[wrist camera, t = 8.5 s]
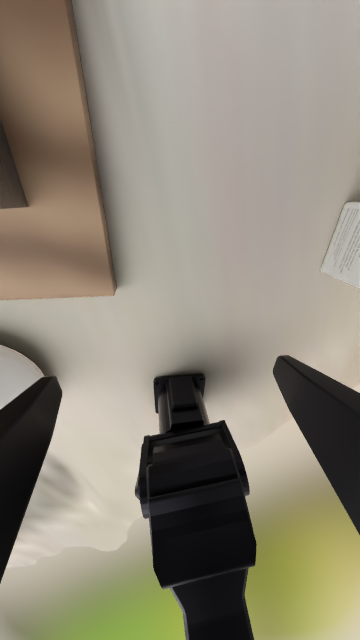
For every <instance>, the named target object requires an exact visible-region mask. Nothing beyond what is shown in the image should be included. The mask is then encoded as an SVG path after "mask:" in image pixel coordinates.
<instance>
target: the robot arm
mask: <svg viewBox="0 0 360 640" xmlns="http://www.w3.org/2000/svg"><path fill="white" fill-rule="evenodd" d="M273 375H274V377H275V379H276V382H277V384H278V386H279V388H280V391H281V393H282V395H283V398H284V400H285V402H286V404H287V406H288V408H289V410H290V412H291V414H292V416H293V417H294V419H295V421H296V423H297V424H298V426H299V428H300V430H301V432H302V433H303V435H304V437H305V439H306V440H307V442H308V444H309V446H310V448H311V449H312V451H313V453H314V455H315V456H316V458H317V460H318V462H319V463H320V465H321V467H322V469H323V471H324V472H325V474H326V476H327V478H328V480H329V481H330V483H331V485H332V487H333V488H334V490H335V492H336V494H337V496H338V497H339V499H340V501H341V503H342V504H343V506H344V508H345V510H346V511H347V513H348V515H349V517H350V518H351V520H352V522H353V524H354V526H355V527H356V529H357V531H358V533H359V535H360V393H358V392H356V391H354V390H353V389H351V388H349V387H347V386H345V385H343V384H341V383H340V382H338V381H336V380H334V379H332V378H330V377H328V376H326V375H325V374H323V373H321V372H319V371H317V370H315V369H313V368H311V367H309V366H308V365H306V364H304V363H302V362H300V361H298V360H296V359H294V358H293V357H291V356H288V355H283V356H278V357H277V359H276V362H275V365H274V368H273ZM153 382H154V396H155V410H156V413H158V414H159V431H160V434H158V435H153V436H150V435H148V436H144V442H143V444H142V447H141V459H140V468H139V474H138V478H137V482H136V487H135V495H136V497H137V498H138V499H139V500H140V504H141V509H142V514H143V517H144V518H145V519H146V518H149V522H150V534H151V545H152V554H153V568H154V571H155V573H156V576H157V578H158V581H159V583H160V585H161V587H162V589H166V588H170V589H171V591H172V593H173V595H174V597H175V598H176V600H177V602H178V604H179V606H180V607H181V609H182V612H183V619H184V626H185V636H186V640H254V637H253V633H252V628H251V624H250V619H249V615H248V610H247V606H246V601H245V595H244V594H245V587H246V581H247V574H248V568H249V567H253V566H255V561H256V540H255V537H254V533H253V527H252V523H251V519H250V515H249V511H248V507H247V503H246V499H245V496H247V495H249V492H250V491H249V483H248V479H247V474H246V471H245V467H244V464H243V461H242V458H241V456H240V453H239V451H238V449H237V446H236V444H235V442H234V440H233V438H232V436H231V433H230V431H229V429H228V427H227V425H226V423H225V420H222V421H219V422H217V423H212V424H210V423H209V419H208V416H207V412H206V409H205V405H204V401H203V394H204V385H205V376H204V374H194V375H183V376H173V377H162V378H155V379H154V381H153ZM61 398H62V389H61V387H60V385H59V382H58V380H57V378H56V377H55V376H44V377H41V378H40V379H39V380H37V381H36V382H35V383H34V384H32V385H31V386H30V387H28V388H27V389H26V390H25V391H23V392H22V393H21V394H20V395H18V396H17V397H16V398H14V399H13V400H12V401H11V402H9V403H8V404H7V405H5V406H4V407H3V408H2V409H0V583H1V580H2V577H3V574H4V571H5V568H6V566H7V563H8V560H9V557H10V554H11V552H12V549H13V546H14V543H15V540H16V537H17V535H18V532H19V529H20V526H21V523H22V521H23V518H24V515H25V512H26V509H27V507H28V504H29V501H30V498H31V495H32V492H33V490H34V487H35V484H36V481H37V478H38V476H39V473H40V470H41V467H42V464H43V461H44V459H45V456H46V453H47V450H48V447H49V445H50V442H51V439H52V435H53V431H54V427H55V423H56V419H57V415H58V411H59V407H60V402H61Z"/></svg>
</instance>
